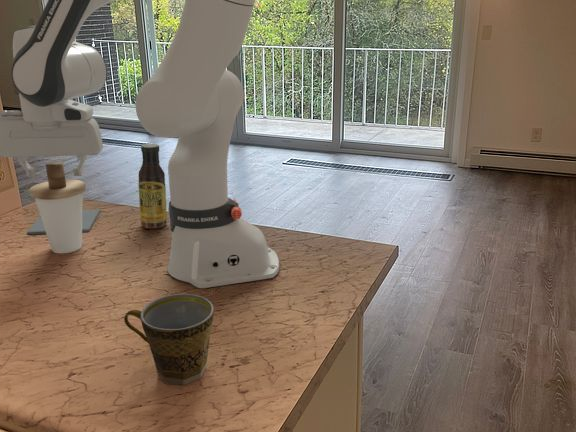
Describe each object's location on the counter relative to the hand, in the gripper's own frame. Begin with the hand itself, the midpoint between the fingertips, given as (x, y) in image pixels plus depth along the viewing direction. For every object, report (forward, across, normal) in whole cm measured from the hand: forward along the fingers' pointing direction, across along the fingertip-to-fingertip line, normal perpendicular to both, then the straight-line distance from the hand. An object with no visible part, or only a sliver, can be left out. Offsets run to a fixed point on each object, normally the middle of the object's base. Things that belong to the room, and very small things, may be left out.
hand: (55, 176), depth 117 cm
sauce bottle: (+16, +18, +11) cm, 27 cm away
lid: (+3, 0, 0) cm, 3 cm away
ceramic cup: (+16, +26, -48) cm, 57 cm away
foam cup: (+16, 0, 0) cm, 17 cm away
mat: (+16, -4, +16) cm, 23 cm away
